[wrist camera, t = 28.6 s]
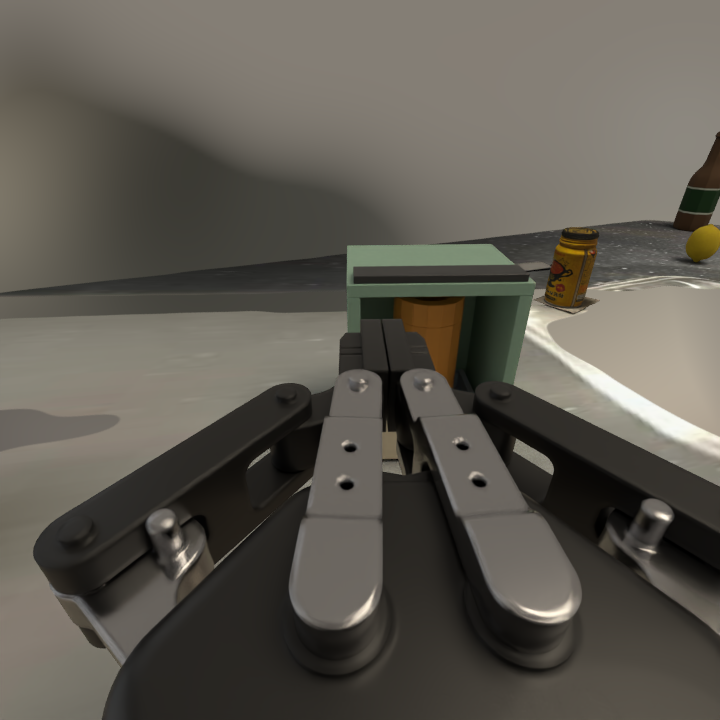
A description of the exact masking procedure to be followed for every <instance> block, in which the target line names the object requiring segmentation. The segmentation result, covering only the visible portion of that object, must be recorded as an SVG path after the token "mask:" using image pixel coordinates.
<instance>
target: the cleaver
mask: <svg viewBox="0 0 720 720" xmlns="http://www.w3.org/2000/svg"><path fill="white" fill-rule="evenodd" d="M515 265H519V266H520V267H522V268H523V269H524V270H525V271H530V270H538V269H545V268H551V266H552V264H551V265H550V266H549V265H547V264H545V263H542V262H531V263H521V264H515Z"/></svg>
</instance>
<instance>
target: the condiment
mask: <svg viewBox="0 0 720 720" xmlns="http://www.w3.org/2000/svg"><path fill="white" fill-rule="evenodd" d="M598 237H599V232H598V231H596V230H593V229H588V228H580V227H570V228H565V229H563V231H562V235H561V238H560V244H559V245H558V246H557V247H556V249H555V252H554V257H553V262H552V266H551V270H550V275H549V279H548V282H547V287H546V292H545V296H542V297H540V298H537V299H534V300H536V301H539V302H541V303H543V304H546V305H549V306H552V307H555V308H558V309H562V310H566V311H569V312H572V313H575V312H577V311H580V310H582V309H584V308H586V307H588V306H589V305H592V304H594V303H596V302H598V301H599V300H597V299H592V298H588V297H585V294H586V290H587V286H588V283H589V279H590V276H591V272H592V269H593V265H594V262H595V258H596V255H597V250H596V245H597V239H598Z"/></svg>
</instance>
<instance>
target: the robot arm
mask: <svg viewBox="0 0 720 720" xmlns="http://www.w3.org/2000/svg"><path fill="white" fill-rule="evenodd" d="M386 420H387V428H388V432H396V434H397V442H396V452H397V456H398V460H399V464H400V468H401V472H402V475H399V474H393V473H387V472H382V432H386ZM516 438H517V439H518V440H520V441H522V442H524V443H525V444H527V445H529V446H530V447H532V448H534V449H536V450H537V451H539V452H541V453H542V454H544V455H545V456H547V457H548V458H549V459H550V461H551V462H552V464H553V466H554V473H553V475H551V474H549V473H548V472H546V471H544V470H543V469H541V468H539V467H538V466H536V465H535V464H533V463H531V462H530V461H528V460H526V459H525V458H523V457H521V456H520V455H518V454H517V453H515V452H513V449H514V445H515V441H516ZM269 448H270V453H269V454H268V455H266V456H265V457H264V458H262V459H261V460H260V461H258V462H257V463H256V464H254V465H253V466H252V467H250V468H249V469H248V467H249V465H250V464H251V462H252V461H253V460H254V459H255V458H257V457H258V456H259V455H261V454H262V453H263V452H265V451H266V450H267V449H269ZM247 469H248V470H247ZM312 476H313V479H312V484H311V486H309V487H307V488H304V489H302V490H301V491H299V492H297V493H295V492H296V491H297V490H298V489H299V488H301V487H302V486H303V485H304V484H305V483H306V482H307V481H308V480H309V479H311V478H312ZM294 493H295V494H294ZM293 494H294V495H293ZM292 495H293V496H292ZM289 497H290V498H289ZM270 514H271V515H270ZM269 515H270V516H269ZM268 516H269V517H268ZM267 517H268V518H267ZM266 518H267V519H266ZM265 519H266V520H265ZM264 520H265V521H264ZM263 521H264V522H263ZM262 522H263V523H262ZM260 523H262V524H261V525H260V526H259V527H258V528H256V527H257V526H258V525H259V524H260ZM255 528H256V529H255ZM254 529H255V530H254ZM253 530H254V531H253ZM252 531H253V532H252ZM250 532H252V533H251V534H250V535H249V536H248V537H247V538H246V539H245V540H244V541H243V542H242V543H241V544H240V545H239V546H238V547H237V548H236V549H235V550H233V551H232V552H231V553H230V554H229V555H228V556H227V557H226V558H225V559H224V560H223V561H222V562H221V563H220V564H219V565H218V566H217V567H216V568H215V569H214V565H215V564H216V563H217V562H218V561H219V560H220V559H221V558H223V557H224V556H225V555H226V554H227V553H228V552H229V551H230V550H231V549H233V548H234V547H235V546H236V545H237V544H238V543H239V542H240V541H242V540H243V539H244V538H245V537H246V536H247V535H248V534H249V533H250ZM33 556H34V559H35V561H36V562H37V564H38V565H39V567H40V568H41V570H42V571H43V573H44V574H45V576H46V577H47V579H48V581H49V585H50V588H51V590H52V592H53V593H54V595H55V596H56V598H57V599H58V601H59V602H60V604H61V605H62V607H63V608H64V610H65V611H66V613H67V614H68V616H69V617H70V619H71V620H72V622H73V623H74V624H76V625H77V626H79V628H80V629H81V631H82V632H83V634H84V635H85V637H86V638H87V640H88V641H89V643H90V644H92V645H93V646H95V647H97V648H107V650H108V651H109V652H110V654H111V655H112V656H113V658H114V659H115V661H116V662H117V663H118V665H119V666H120V667H121V669H120V671H119V673H118V675H117V677H116V679H115V681H114V683H113V685H112V687H111V690H110V692H109V695H108V698H107V701H106V704H105V708H104V712H103V716H102V720H720V487H719V486H717V485H715V484H713V483H711V482H709V481H707V480H705V479H703V478H701V477H699V476H697V475H695V474H693V473H691V472H689V471H687V470H685V469H683V468H681V467H679V466H677V465H675V464H673V463H670V462H668V461H666V460H664V459H662V458H660V457H658V456H656V455H654V454H652V453H650V452H648V451H646V450H644V449H642V448H640V447H638V446H636V445H634V444H632V443H630V442H628V441H626V440H624V439H622V438H620V437H618V436H616V435H613V434H611V433H609V432H607V431H605V430H603V429H601V428H599V427H597V426H595V425H593V424H591V423H589V422H587V421H585V420H583V419H581V418H579V417H577V416H575V415H573V414H571V413H569V412H567V411H565V410H563V409H561V408H558V407H556V406H554V405H552V404H550V403H548V402H546V401H544V400H542V399H540V398H538V397H536V396H534V395H532V394H530V393H528V392H526V391H524V390H522V389H520V388H518V387H516V386H514V385H511V384H509V383H505V382H500V381H487V382H483V383H481V384H479V385H478V386H477V387H476V389H475V393H471V392H465V391H460V390H456V389H453V388H451V387H450V386H449V384H448V382H447V380H446V378H445V377H444V376H443V375H442V374H440V373H438V372H436V370H435V367H434V364H433V361H432V359H431V356H430V354H429V350H428V348H427V344H426V341H425V339H424V338H423V337H422V336H421V335H420V334H418V333H417V332H405V329H404V325H403V321H402V319H382V320H381V321H380V319H360V332H357V333H345V334H344V336H343V337H342V338H341V339H340V355H339V376H338V377H337V378H336V381H335V386H333V387H332V388H331V389H329V390H327V391H324V392H321V393H317V394H312V395H311V392H310V390H309V389H308V388H307V387H305V386H303V385H300V384H295V383H285V384H280V385H276V386H274V387H272V388H270V389H268V390H266V391H265V392H263V393H262V394H260V395H258V396H257V397H255V398H253V399H252V400H250V401H248V402H247V403H245V404H244V405H242V406H240V407H239V408H237V409H235V410H234V411H232V412H230V413H229V414H227V415H226V416H224V417H222V418H221V419H219V420H217V421H216V422H214V423H212V424H211V425H209V426H208V427H206V428H204V429H203V430H201V431H199V432H198V433H196V434H194V435H193V436H191V437H190V438H188V439H186V440H185V441H183V442H181V443H180V444H178V445H176V446H175V447H173V448H172V449H170V450H168V451H167V452H165V453H163V454H162V455H160V456H159V457H157V458H155V459H154V460H152V461H150V462H149V463H147V464H145V465H144V466H142V467H141V468H139V469H137V470H136V471H134V472H132V473H131V474H129V475H127V476H126V477H124V478H123V479H121V480H119V481H118V482H116V483H114V484H113V485H111V486H109V487H108V488H106V489H105V490H103V491H101V492H100V493H98V494H96V495H95V496H93V497H91V498H90V499H88V500H87V501H85V502H83V503H82V504H80V505H78V506H77V507H75V508H73V509H72V510H70V511H69V512H67V513H65V514H64V515H62V516H61V517H59V518H58V519H56V520H55V521H54V522H52V523H51V524H50V525H49V526H48V527H47V528H46V529H45V530H44V531H43V532H42V533H41V535H40V536H39V538H38V539H37V541H36V543H35V546H34V550H33Z"/></svg>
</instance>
